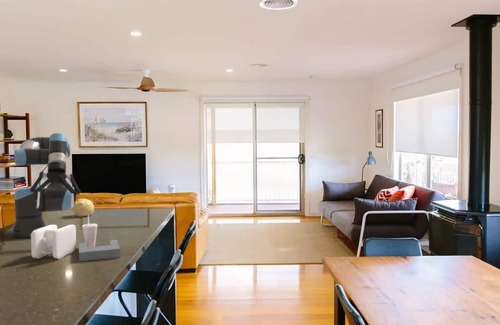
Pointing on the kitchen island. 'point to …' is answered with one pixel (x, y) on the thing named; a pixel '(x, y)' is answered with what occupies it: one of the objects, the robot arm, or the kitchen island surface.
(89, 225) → the smoothie
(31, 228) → the robot arm
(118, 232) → the kitchen island surface
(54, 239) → the cable organizer
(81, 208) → the pale yellow round lump
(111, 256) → the notched board
